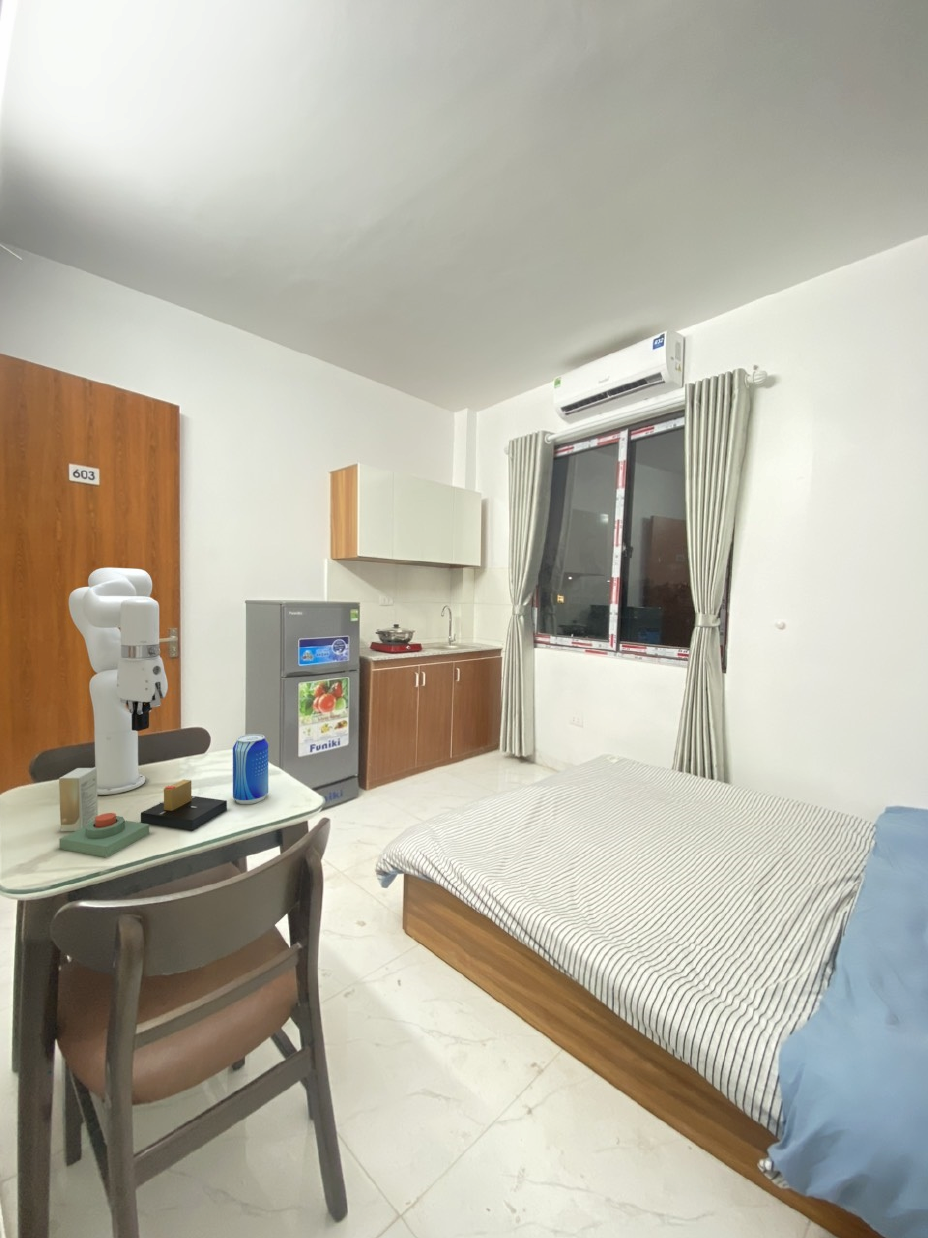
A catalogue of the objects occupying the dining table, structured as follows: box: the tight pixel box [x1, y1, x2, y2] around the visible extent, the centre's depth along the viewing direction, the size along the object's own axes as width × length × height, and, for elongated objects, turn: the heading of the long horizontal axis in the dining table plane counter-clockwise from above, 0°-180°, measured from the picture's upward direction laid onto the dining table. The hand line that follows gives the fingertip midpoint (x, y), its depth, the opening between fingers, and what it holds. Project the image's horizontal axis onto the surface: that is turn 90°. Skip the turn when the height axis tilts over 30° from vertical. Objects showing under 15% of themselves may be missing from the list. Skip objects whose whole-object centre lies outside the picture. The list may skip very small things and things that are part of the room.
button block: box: [58, 815, 150, 858], centre depth 104 cm, size 12×10×4 cm
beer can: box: [232, 733, 269, 805], centre depth 127 cm, size 8×8×16 cm
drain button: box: [95, 812, 117, 828], centre depth 104 cm, size 4×4×2 cm
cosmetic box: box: [58, 767, 99, 832], centre depth 111 cm, size 6×4×12 cm
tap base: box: [140, 795, 228, 832], centre depth 117 cm, size 14×11×3 cm
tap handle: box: [163, 779, 193, 811], centre depth 117 cm, size 6×2×5 cm, turn 167°
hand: (140, 729), depth 116 cm, fingers closed
